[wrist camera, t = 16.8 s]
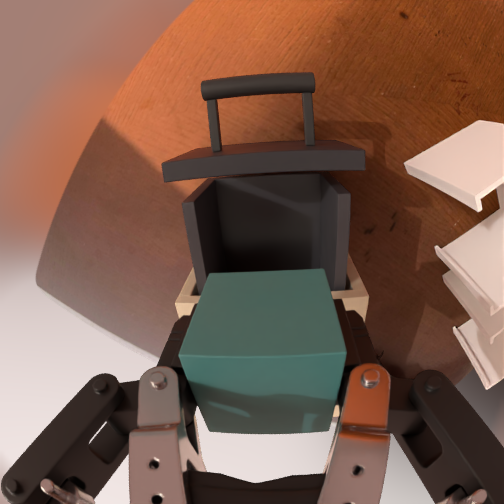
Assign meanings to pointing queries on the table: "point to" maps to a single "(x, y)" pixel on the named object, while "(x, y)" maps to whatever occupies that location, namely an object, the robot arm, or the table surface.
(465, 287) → the white desk organizer
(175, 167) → the drawer
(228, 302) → the block
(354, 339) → the robot arm
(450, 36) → the table surface
